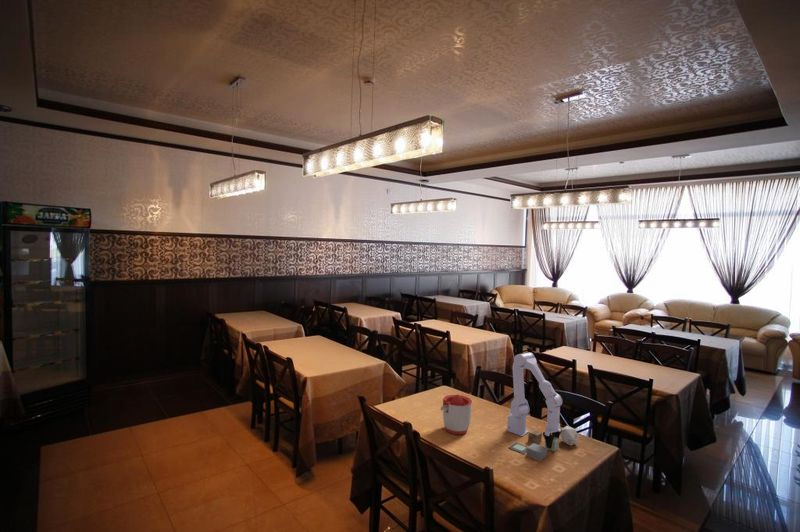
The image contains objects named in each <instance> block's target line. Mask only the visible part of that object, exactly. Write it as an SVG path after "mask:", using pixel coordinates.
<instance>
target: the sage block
mask: <svg viewBox="0 0 800 532" xmlns="http://www.w3.org/2000/svg"><path fill="white" fill-rule="evenodd" d="M559 445H560V437H559V438H556V437H554V439H553V442H552V447H551V449H550V448H547V447H546V442H545V441H544V447H545V448H547V450H549V451H552V452H556V451H557V450H558V449H559V448H560V446H559Z"/></svg>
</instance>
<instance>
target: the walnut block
mask: <svg viewBox="0 0 800 532" xmlns="http://www.w3.org/2000/svg"><path fill="white" fill-rule="evenodd" d="M527 435H528V438H527V442H528V443H530V444H533V443H535V444H538V445H540V443H542V441H543V440H542V436H543V432H541V431H540V430H539V431H538V430H535V429H534V428H533V429H531V430H530V431H529V432H528V434H527Z"/></svg>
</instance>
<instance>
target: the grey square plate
mask: <svg viewBox="0 0 800 532" xmlns="http://www.w3.org/2000/svg"><path fill="white" fill-rule="evenodd" d="M527 447H528V446H526V445H524V444H522V443H519V442H516V441H515V442H514V443H512V444H511V445H510V446H509V447H508V449H509V450H511V451H514V452H517V453H519V454H521V455H525V454H527Z"/></svg>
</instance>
